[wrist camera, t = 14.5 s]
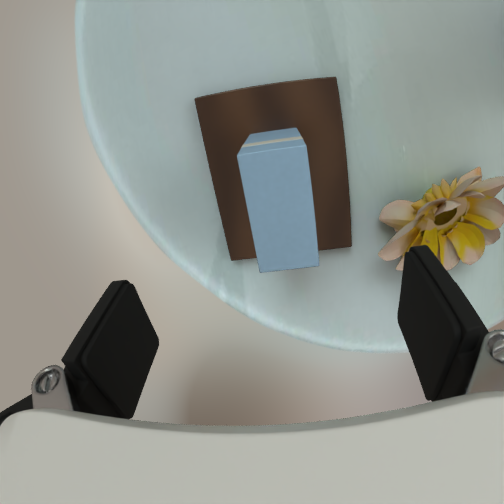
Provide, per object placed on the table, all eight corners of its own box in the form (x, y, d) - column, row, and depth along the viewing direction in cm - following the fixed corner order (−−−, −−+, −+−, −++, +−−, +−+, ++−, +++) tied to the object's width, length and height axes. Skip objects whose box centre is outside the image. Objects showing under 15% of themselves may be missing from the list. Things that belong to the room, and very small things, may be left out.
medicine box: (264, 219, 29) (259, 273, 21) (249, 133, 25) (236, 154, 17) (308, 214, 28) (319, 266, 20) (297, 127, 24) (306, 144, 17)
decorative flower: (380, 301, 31) (412, 350, 22) (349, 201, 29) (378, 216, 20) (488, 251, 28) (540, 279, 19) (468, 156, 26) (525, 157, 17)
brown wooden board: (232, 256, 32) (231, 261, 31) (196, 97, 25) (194, 98, 24) (349, 242, 30) (351, 246, 30) (334, 77, 23) (336, 76, 22)
